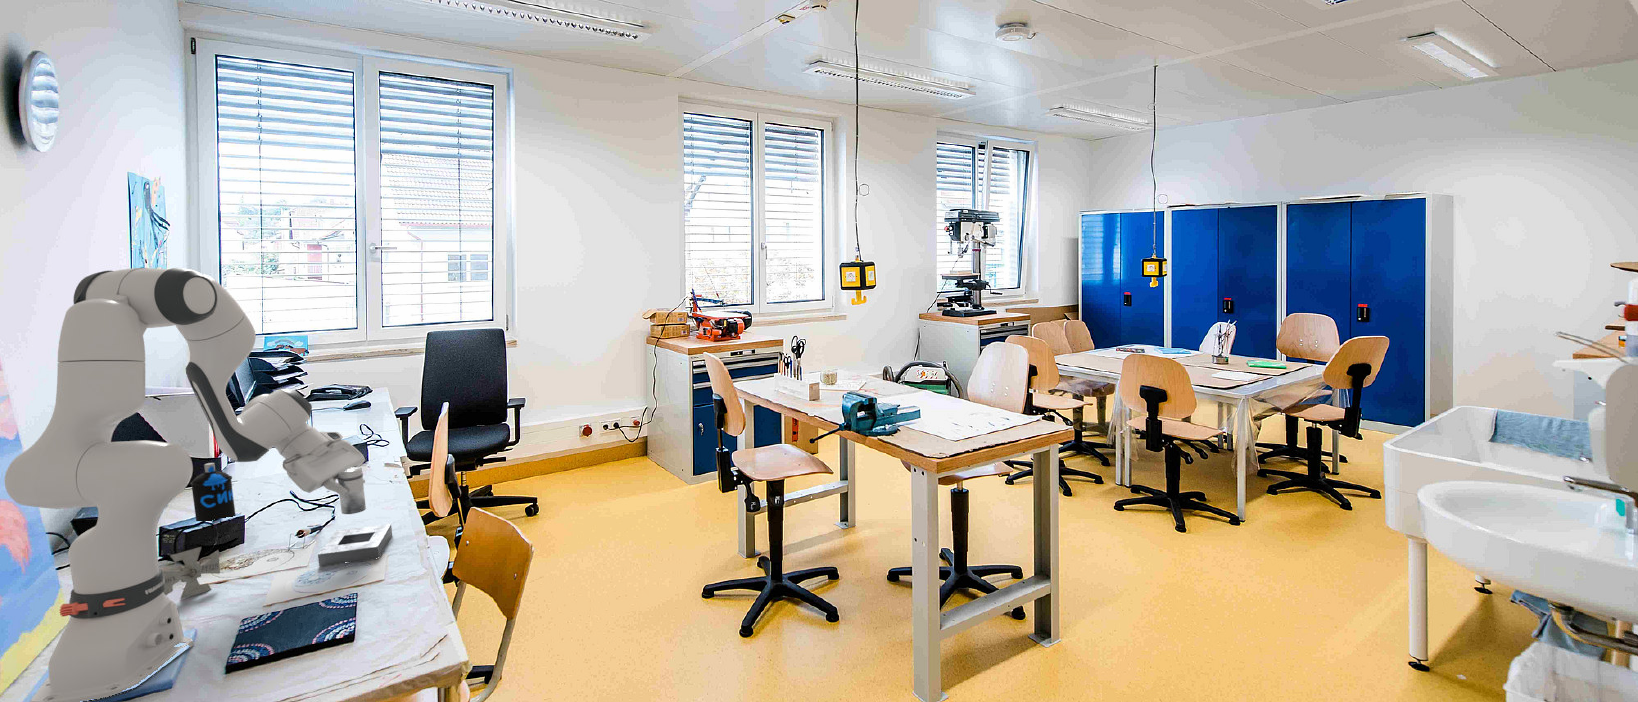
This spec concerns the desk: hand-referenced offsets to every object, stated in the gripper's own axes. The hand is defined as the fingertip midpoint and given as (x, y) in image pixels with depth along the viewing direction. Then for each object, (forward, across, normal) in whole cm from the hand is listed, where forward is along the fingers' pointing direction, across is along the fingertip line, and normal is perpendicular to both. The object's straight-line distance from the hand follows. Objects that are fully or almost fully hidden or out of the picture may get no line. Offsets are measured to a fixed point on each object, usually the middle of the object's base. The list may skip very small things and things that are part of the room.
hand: (354, 488), depth 178 cm
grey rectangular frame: (+10, 0, +11) cm, 15 cm away
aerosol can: (-17, +9, +40) cm, 44 cm away
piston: (+3, 0, +4) cm, 5 cm away
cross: (-4, -23, +26) cm, 35 cm away
